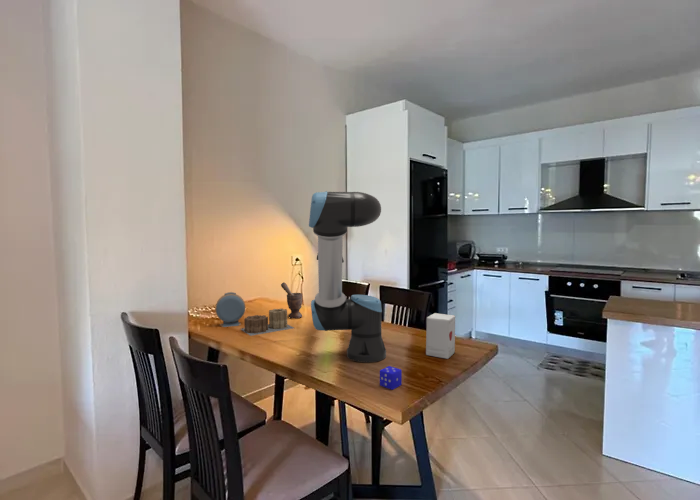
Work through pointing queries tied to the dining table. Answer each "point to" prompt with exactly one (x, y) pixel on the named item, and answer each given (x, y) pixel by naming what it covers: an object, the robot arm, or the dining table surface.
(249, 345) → the dining table surface
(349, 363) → the dining table surface
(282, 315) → the maple gear
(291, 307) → the mortar and pestle
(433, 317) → the supplement box
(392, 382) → the die
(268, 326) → the gear board
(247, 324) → the walnut gear
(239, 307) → the alarm clock
